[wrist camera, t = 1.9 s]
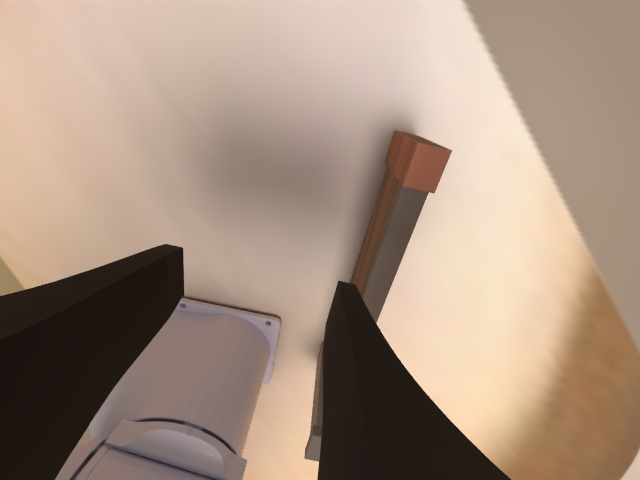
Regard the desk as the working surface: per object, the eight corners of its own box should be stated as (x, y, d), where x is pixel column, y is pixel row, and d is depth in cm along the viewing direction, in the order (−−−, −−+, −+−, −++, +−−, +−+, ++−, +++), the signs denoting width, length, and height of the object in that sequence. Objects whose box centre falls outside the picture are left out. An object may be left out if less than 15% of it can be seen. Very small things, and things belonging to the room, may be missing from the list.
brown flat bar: (328, 343, 23) (325, 404, 19) (394, 130, 16) (417, 142, 11) (345, 346, 23) (345, 408, 19) (418, 135, 16) (452, 150, 11)
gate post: (314, 361, 25) (304, 458, 18) (320, 339, 24) (312, 435, 17) (344, 367, 25) (345, 466, 18) (352, 346, 24) (357, 443, 17)
